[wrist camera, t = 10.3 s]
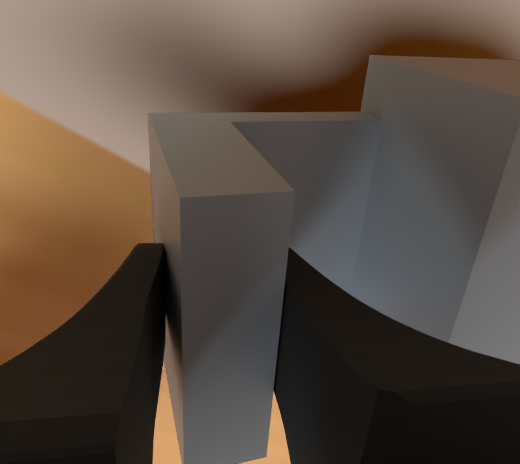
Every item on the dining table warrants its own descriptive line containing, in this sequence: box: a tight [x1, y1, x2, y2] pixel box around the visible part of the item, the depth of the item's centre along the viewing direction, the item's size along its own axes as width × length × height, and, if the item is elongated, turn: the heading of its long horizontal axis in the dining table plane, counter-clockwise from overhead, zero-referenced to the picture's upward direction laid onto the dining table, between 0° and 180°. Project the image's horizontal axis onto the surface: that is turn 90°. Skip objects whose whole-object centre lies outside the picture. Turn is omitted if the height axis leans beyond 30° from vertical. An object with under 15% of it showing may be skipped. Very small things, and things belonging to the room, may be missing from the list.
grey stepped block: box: [148, 55, 520, 464], centre depth 14 cm, size 17×10×6 cm, turn 86°
